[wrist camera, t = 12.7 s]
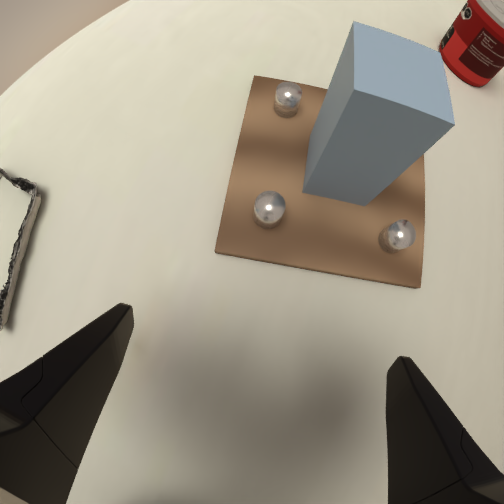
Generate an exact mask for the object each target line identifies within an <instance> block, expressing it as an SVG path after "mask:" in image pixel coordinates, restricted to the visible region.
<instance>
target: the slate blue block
mask: <svg viewBox="0 0 504 504" xmlns="http://www.w3.org/2000/svg"><path fill="white" fill-rule="evenodd" d="M454 125H455V122H454V115H453V109H452V104H451V98H450V93H449V88H448V83H447V78H446V74H445V69H444V65H443V61H442V57H441V53H440V52H437V51H435V50H433V49H431V48H428V47H426V46H423V45H421V44H419V43H416V42H414V41H411V40H408V39H406V38H403V37H400V36H398V35H395V34H392V33H389V32H386V31H383V30H380V29H377V28H374V27H371V26H368V25H365V24H361V23H358V22H354V21H353V24H352V27H351V30H350V32H349V35H348V38H347V40H346V43H345V46H344V48H343V51H342V54H341V56H340V59H339V61H338V64H337V67H336V69H335V72H334V75H333V77H332V80H331V83H330V85H329V88H328V90H327V93H326V96H325V98H324V101H323V104H322V106H321V109H320V111H319V114H318V117H317V119H316V122H315V124H314V127H313V130H312V132H311V135H310V139H309V147H308V154H307V162H306V169H305V176H304V184H303V191H302V193H307V194H311V195H316V196H321V197H325V198H330V199H335V200H339V201H344V202H348V203H352V204H357V205H361V206H366V205H367V204H368V203H369V202H370V201H372V200H373V199H374V198H375V197H376V196H377V195H378V194H380V193H381V192H382V191H383V190H384V189H385V188H386V187H387V186H389V185H390V184H391V183H392V182H393V181H394V180H395V179H396V178H397V177H399V176H400V175H401V174H402V173H403V172H404V171H405V170H406V169H407V168H409V167H410V166H411V165H412V164H413V163H414V162H415V161H416V160H417V159H418V158H420V157H421V156H422V155H423V154H424V153H425V152H426V151H427V150H428V149H429V148H430V147H432V146H433V145H434V144H435V143H436V142H437V141H438V140H439V139H440V138H441V137H442V136H443V135H444V134H446V133H447V132H448V131H449V130H450V129H451V128H452V127H453V126H454Z"/></svg>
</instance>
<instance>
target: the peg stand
mask: <svg viewBox="0 0 504 504" xmlns="http://www.w3.org/2000/svg"><path fill="white" fill-rule="evenodd" d="M327 90H328V89H323V88H319V87H314V86H310V85H305V84H300V83H295V82H290V81H285V80H279V79H273V78H267V77H261V76H255V75H254V78H253V82H252V86H251V90H250V94H249V98H248V103H247V107H246V111H245V115H244V119H243V123H242V128H241V132H240V136H239V140H238V145H237V149H236V154H235V158H234V162H233V167H232V171H231V176H230V180H229V185H228V189H227V194H226V199H225V203H224V208H223V213H222V217H221V222H220V227H219V232H218V237H217V242H216V247H215V253H218V254H224V255H229V256H235V257H240V258H246V259H251V260H257V261H262V262H268V263H273V264H279V265H284V266H290V267H296V268H301V269H307V270H312V271H318V272H324V273H329V274H335V275H341V276H346V277H352V278H358V279H363V280H369V281H375V282H380V283H386V284H392V285H398V286H404V287H409V288H415V289H416V288H420V287H421V277H422V264H423V249H424V226H425V174H424V154H423V155H422V156H421V157H420V158H418V159H417V160H416V161H415V162H414V163H413V164H412V165H411V166H410V167H409V168H407V169H406V170H405V171H404V172H403V173H402V174H401V175H400V176H399V177H397V178H396V179H395V180H394V181H393V182H392V183H391V184H390V185H389V186H387V187H386V188H385V189H384V190H383V191H382V192H381V193H380V194H378V195H377V196H376V197H375V198H374V199H373V200H372V201H370V202H369V203H368V204H367V205H366V206H361V205H357V204H352V203H348V202H344V201H339V200H335V199H330V198H325V197H321V196H316V195H311V194H307V193H302V191H303V184H304V176H305V169H306V162H307V154H308V147H309V139H310V135H311V132H312V130H313V127H314V124H315V122H316V119H317V117H318V114H319V111H320V109H321V106H322V104H323V101H324V98H325V96H326V93H327Z"/></svg>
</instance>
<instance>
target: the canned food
mask: <svg viewBox="0 0 504 504" xmlns="http://www.w3.org/2000/svg"><path fill="white" fill-rule="evenodd" d="M440 53H441V56H442V58H443V60H444V62H445V63H446V65H447V66H448V67H449V68H450V69H451V70H452V72H453V73H454V74H456V75H457V76H458V77H459V78H460V79H462V80H463V81H465V82H466V83H468V84H470V85H473V86H477V87H480V86H483V85H485V84H487V83H488V82H489V81H490V80H491V79H492V78H493V77H494V76H495V75H496V74H497V73H498V72H499V71H500V70H501V69H502V68H503V67H504V2H503V1H501V0H468V1H467V3H466V4H465V6H464V7H463V9H462V10H461V12H460V13H459V15H458V16H457V18H456V19H455V21H454V22H453V24H452V25H451V27H450V28H449V30H448V31H447V33H446V34H445V36H444V37H443V39H442V40H441V44H440Z"/></svg>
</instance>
